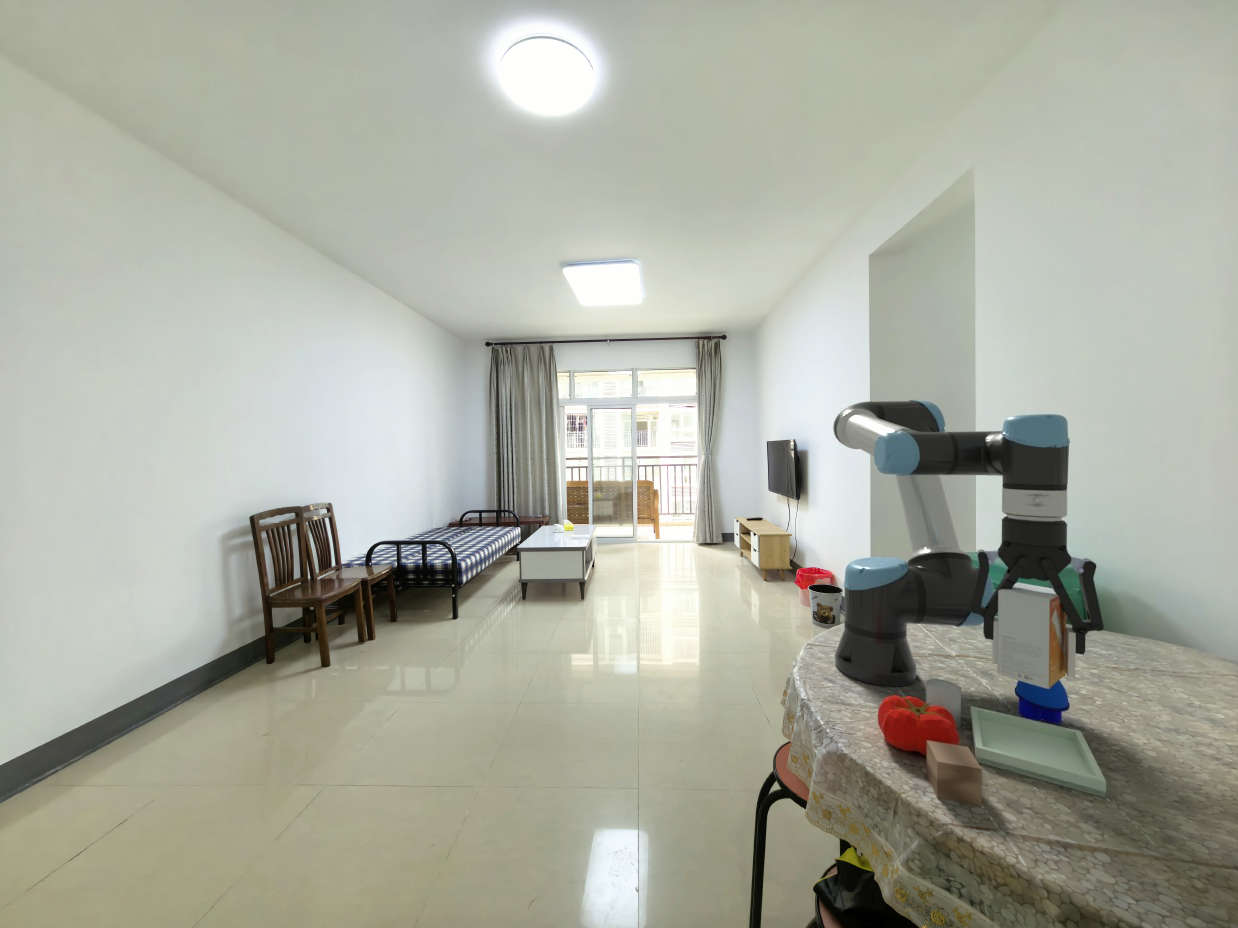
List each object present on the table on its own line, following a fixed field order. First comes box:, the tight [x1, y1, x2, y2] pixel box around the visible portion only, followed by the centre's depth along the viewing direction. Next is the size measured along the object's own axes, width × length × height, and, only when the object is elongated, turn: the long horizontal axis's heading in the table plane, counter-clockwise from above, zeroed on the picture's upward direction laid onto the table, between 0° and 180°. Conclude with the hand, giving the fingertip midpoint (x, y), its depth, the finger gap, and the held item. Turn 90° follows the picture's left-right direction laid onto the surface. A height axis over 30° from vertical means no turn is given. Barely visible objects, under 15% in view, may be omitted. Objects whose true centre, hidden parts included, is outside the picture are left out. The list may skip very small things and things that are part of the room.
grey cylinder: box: [925, 678, 962, 729], centre depth 84 cm, size 5×5×6 cm
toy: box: [1014, 679, 1071, 724], centre depth 85 cm, size 9×9×15 cm
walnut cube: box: [925, 740, 983, 807], centre depth 67 cm, size 5×5×5 cm
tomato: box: [877, 694, 960, 757], centre depth 76 cm, size 10×11×6 cm
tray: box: [970, 705, 1107, 799], centre depth 75 cm, size 14×14×2 cm
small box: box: [996, 582, 1067, 689], centre depth 74 cm, size 8×6×13 cm
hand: (1031, 666), depth 74 cm, fingers closed on small box, 8 cm apart
